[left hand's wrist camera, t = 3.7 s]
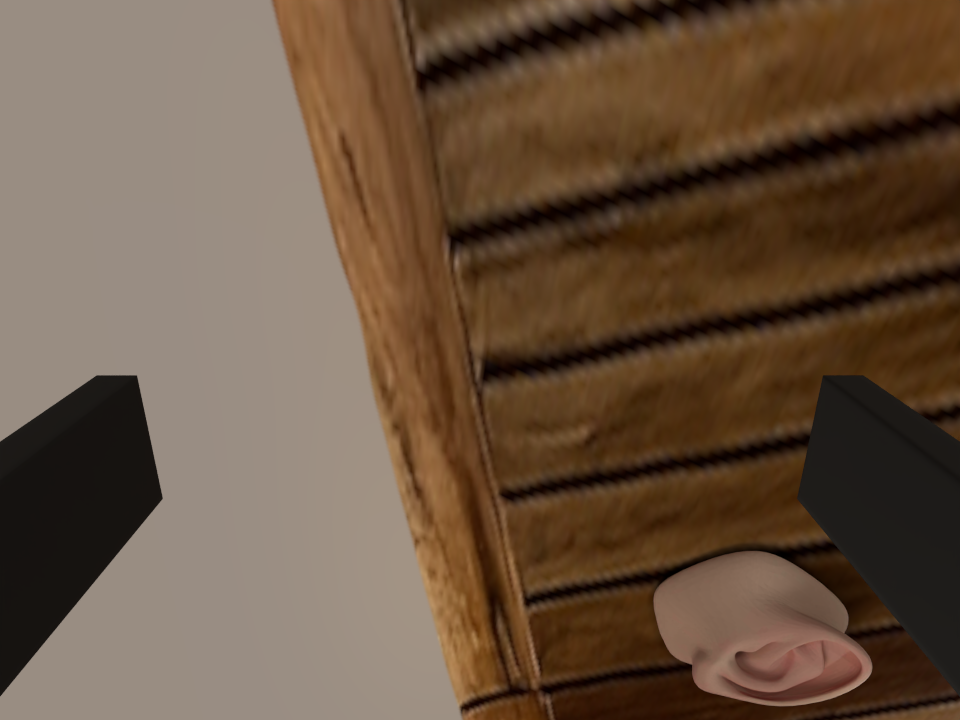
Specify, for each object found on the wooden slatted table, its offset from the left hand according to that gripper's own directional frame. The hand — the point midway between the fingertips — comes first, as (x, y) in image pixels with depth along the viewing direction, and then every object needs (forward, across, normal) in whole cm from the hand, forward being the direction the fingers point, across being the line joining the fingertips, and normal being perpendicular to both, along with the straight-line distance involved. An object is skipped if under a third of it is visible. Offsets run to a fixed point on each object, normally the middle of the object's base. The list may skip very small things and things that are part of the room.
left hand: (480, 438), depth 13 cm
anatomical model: (+25, +19, -27) cm, 41 cm away
